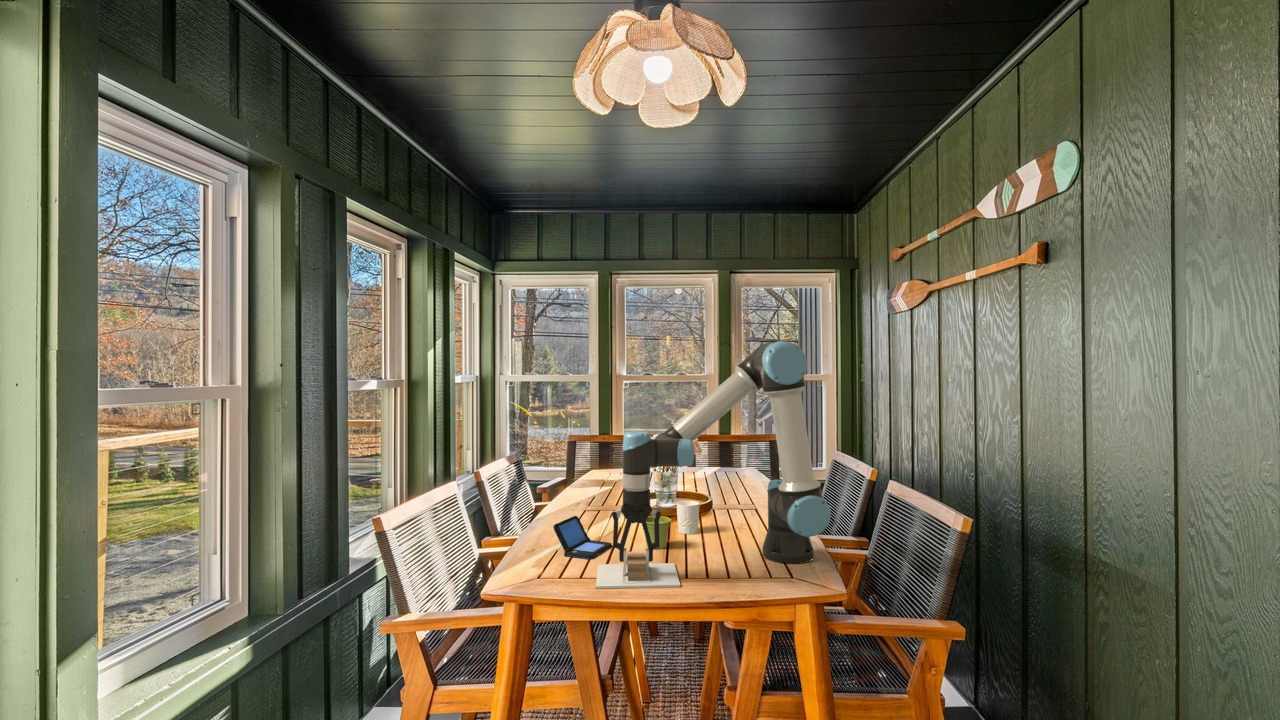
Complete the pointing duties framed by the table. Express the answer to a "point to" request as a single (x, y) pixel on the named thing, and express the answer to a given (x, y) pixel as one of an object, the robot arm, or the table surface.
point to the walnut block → (636, 566)
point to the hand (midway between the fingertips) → (636, 573)
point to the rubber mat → (657, 578)
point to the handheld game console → (578, 540)
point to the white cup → (688, 517)
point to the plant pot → (663, 530)
